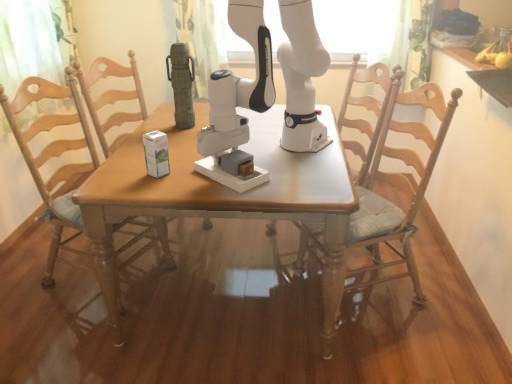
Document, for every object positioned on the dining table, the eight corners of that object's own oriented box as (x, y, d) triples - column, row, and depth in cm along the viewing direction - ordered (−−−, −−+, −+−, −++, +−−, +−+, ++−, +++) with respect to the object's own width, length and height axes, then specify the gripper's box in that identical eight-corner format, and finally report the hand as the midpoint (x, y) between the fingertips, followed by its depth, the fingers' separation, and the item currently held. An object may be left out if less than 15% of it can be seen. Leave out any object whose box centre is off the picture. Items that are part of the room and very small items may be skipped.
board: (223, 159, 156) (222, 138, 152) (269, 180, 140) (269, 157, 137) (194, 170, 148) (192, 148, 144) (240, 193, 133) (239, 169, 129)
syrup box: (160, 168, 149) (155, 129, 142) (171, 173, 146) (166, 133, 139) (146, 174, 145) (141, 134, 138) (158, 179, 142) (152, 138, 135)
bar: (224, 160, 148) (223, 150, 146) (253, 173, 138) (253, 163, 137) (214, 163, 145) (213, 154, 144) (243, 177, 136) (243, 167, 134)
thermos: (197, 129, 186) (191, 45, 170) (170, 129, 186) (162, 45, 169) (200, 122, 194) (194, 42, 177) (174, 122, 194) (166, 42, 177)
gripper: (203, 132, 129) (206, 173, 136) (252, 117, 142) (252, 155, 148) (191, 127, 133) (194, 167, 140) (239, 113, 146) (240, 151, 152)
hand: (224, 161), depth 144 cm, fingers open, 5 cm apart
